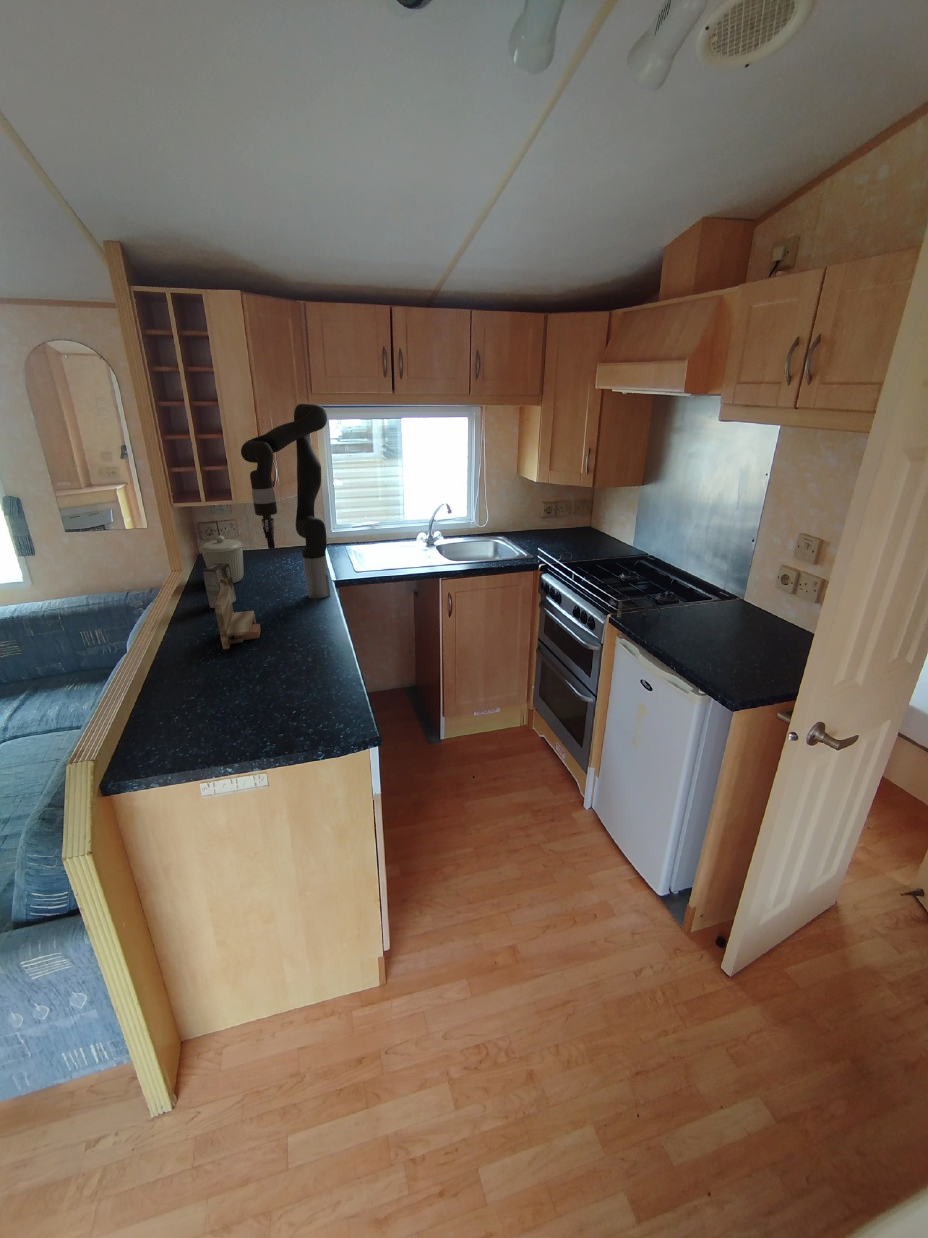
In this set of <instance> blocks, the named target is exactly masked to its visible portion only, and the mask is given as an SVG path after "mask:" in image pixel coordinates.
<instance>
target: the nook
mask: <svg viewBox="0 0 928 1238" xmlns="http://www.w3.org/2000/svg"><path fill="white" fill-rule="evenodd" d="M214 607H215V608H214V611H215V616H216V620H217V624H218V625H217V626H218V632H219V635H220V641H221V645H222V649H223V650H228V649H230V647H231V645H232V644H241V643H244V640H243V638H236V639H235V638H234V635H244V634H249V632H250V628H251V625H253V624H257V622H256V615H255V610H246V611H237V612H234V607H233V603H232V601H231V596H230V590H229V586H222V589H221V591H220V593H219V595H218V597H217V600H216V602H215V604H214Z"/></svg>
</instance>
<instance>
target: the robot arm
mask: <svg viewBox="0 0 928 1238" xmlns="http://www.w3.org/2000/svg"><path fill="white" fill-rule="evenodd" d="M327 421H328V414H327V411H326V409H325V408H324V407H323V406H321V405H319V404H316V403H315V404H314V403H313V404H312V403H299V404H297V405H296V407H295V408H294V413H293V421H289V422H288V423H287V422H286V423H284V424H280V425H278V426H276V427H273V428H272V429H271V430H269V431H268V432H266V433H265V434H261V435H259V436H256V437H253V438H251V439H249V440H246V441H245V442H244V443H243V444H242V446H241V449H240V455H241V457H242V458H243V460H244V461H246V462H248V463H251V464H252V463H253V464H254V463H255V464H256V463H257V466H256V469H255V470H252V471H251V472H250V473H249V478H250V479H249V480H250V485H251V493H252V494H251V495H252V501H253V508H254V514H255V515H256V516H258V517H259V516H262V518H261V521H260V522H261V526H262V530H263V533H264V537H265V539H266V541H267V548H268V549H269V550H272V549H273V550H274V549H275V548H276V545H275V525H274V523H275V520H274V517H272V516H274V515H277V514H278V507H277V501H276V494H275V490H274V486H273V480H272V479H273V477H272V473H273V463H274V453H275V454H276V453H278V452H279V451H281V450H283V449H284V448H285V447H287V446H289V445H291V444H292V443H294V442H296V444H295V446H296V490H297V492H296V497H297V498H296V499H297V500H296V501H297V502H296V506H297V507H296V514H295V515H296V517H295V531H296V533H297V534H298V535H299V537H301V538H303V539H305V547H304V548H303V549H302V551H301V553H302V554H301V555H302V562H303V569H304V574H305V584H306V590H307V591H306V592H307V597H308V598H310V599H324V598H327V597H331V587H330V579H329V571H328V562H327V555H326V554H327V553H326V552H327V546H328V545H327V543H328V542H327V531H326V530H327V529H326V525H325V523H324V521H323V520H322V519H320V518H319V517H316V516H315V502H316V499H317V496H318V493H319V491H320V488H321V485H322V466H321V462H320V460H319V459H320V458H319V457H318V455H317V453H316V451H315V450H314V447H313V444H312V441H311V440H312V439H311V438H312V437H311V434H312V433H314V432H318V431H321V430H323V429H324V428H325V427H326V425H327Z"/></svg>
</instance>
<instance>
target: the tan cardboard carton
mask: <svg viewBox="0 0 928 1238" xmlns="http://www.w3.org/2000/svg"><path fill="white" fill-rule="evenodd" d="M261 630H262V629H261V625H260V623H256V624H253V625H251V628H250V632H249V634H244V635H234V636H233V639H236V638H243V641H245V640H254V639H259V638H260V635H261Z"/></svg>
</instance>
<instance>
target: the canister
mask: <svg viewBox="0 0 928 1238" xmlns="http://www.w3.org/2000/svg"><path fill="white" fill-rule="evenodd" d="M243 547H244V543H243V542H242V541H239V540H237V539H232V538H230V539H229V538H226V539H225V536H223V535H217V536H216V537H215V540H212V541H208V542H205V543H204V544H202V545H201V546H199V551H200V552H201V554H202V557H203V560H204V563H205V567H206V568H207V567H209V566H211V565H213V564H215V563H222V564H229V566H230V571H231V576H232V581H233V584H236V583H238V582H240V581H242V579H243V578H244V556H243V555H244V554H243Z"/></svg>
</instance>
